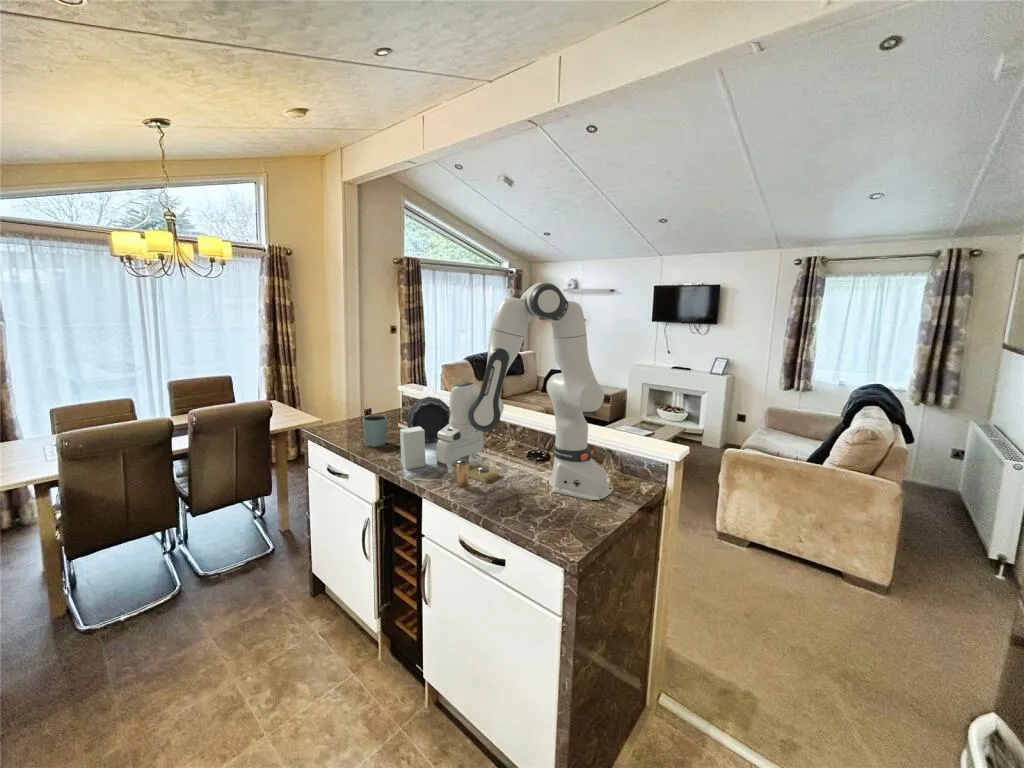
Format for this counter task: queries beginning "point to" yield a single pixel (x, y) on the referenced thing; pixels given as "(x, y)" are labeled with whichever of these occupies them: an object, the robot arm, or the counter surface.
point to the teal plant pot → (375, 430)
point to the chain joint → (475, 469)
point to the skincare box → (412, 447)
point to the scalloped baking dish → (429, 416)
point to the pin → (462, 472)
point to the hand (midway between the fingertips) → (460, 468)
